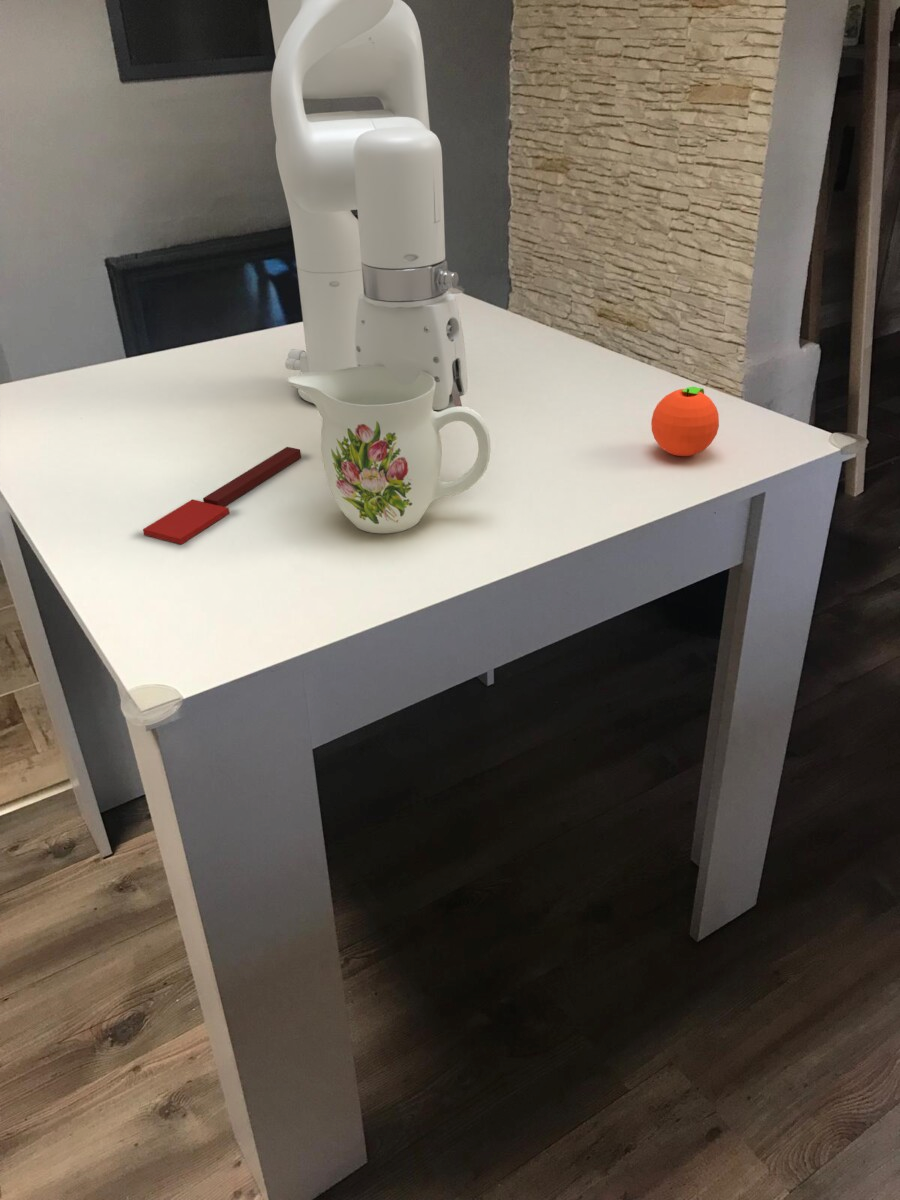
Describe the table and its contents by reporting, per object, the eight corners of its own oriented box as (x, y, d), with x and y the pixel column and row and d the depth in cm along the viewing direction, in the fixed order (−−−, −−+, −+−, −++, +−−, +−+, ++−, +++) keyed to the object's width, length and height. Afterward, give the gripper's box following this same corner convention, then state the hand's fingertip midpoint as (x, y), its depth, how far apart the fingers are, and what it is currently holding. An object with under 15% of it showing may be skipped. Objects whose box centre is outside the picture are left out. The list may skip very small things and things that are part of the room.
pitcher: (487, 546, 86) (486, 400, 79) (291, 543, 88) (272, 399, 81) (494, 493, 95) (493, 357, 88) (316, 491, 97) (300, 358, 90)
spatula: (143, 534, 90) (141, 525, 90) (277, 452, 106) (276, 444, 105) (181, 544, 88) (179, 535, 88) (312, 459, 104) (311, 451, 103)
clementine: (669, 433, 107) (675, 371, 103) (729, 445, 104) (737, 382, 100) (637, 457, 102) (642, 393, 98) (699, 472, 98) (707, 405, 94)
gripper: (497, 278, 86) (498, 466, 96) (356, 265, 92) (370, 443, 102) (459, 299, 81) (464, 496, 90) (312, 283, 87) (331, 469, 97)
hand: (414, 467), depth 96 cm, fingers closed
